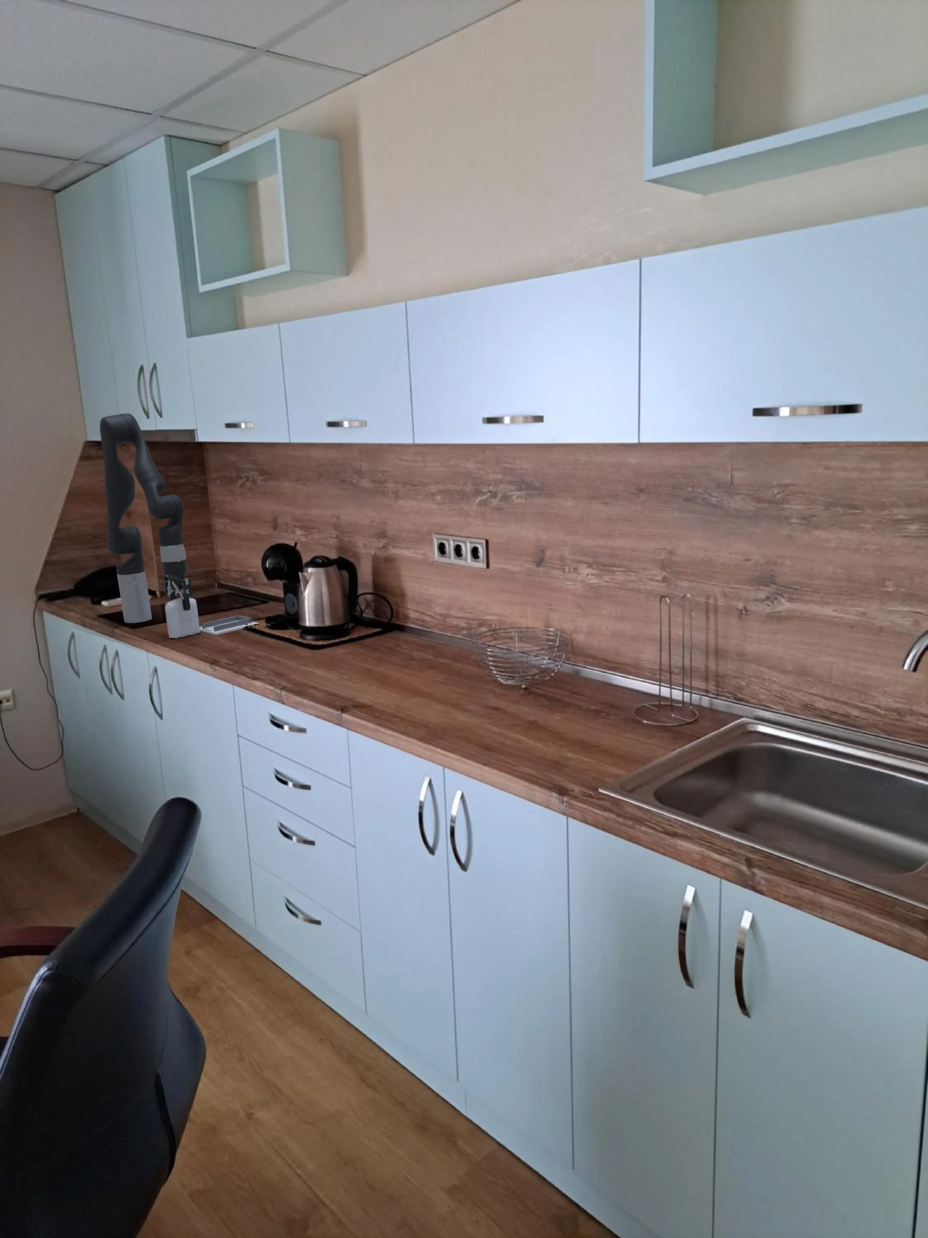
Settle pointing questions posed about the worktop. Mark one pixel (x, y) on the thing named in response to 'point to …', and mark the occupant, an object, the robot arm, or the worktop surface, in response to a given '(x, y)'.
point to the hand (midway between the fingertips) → (180, 608)
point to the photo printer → (181, 618)
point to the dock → (226, 625)
